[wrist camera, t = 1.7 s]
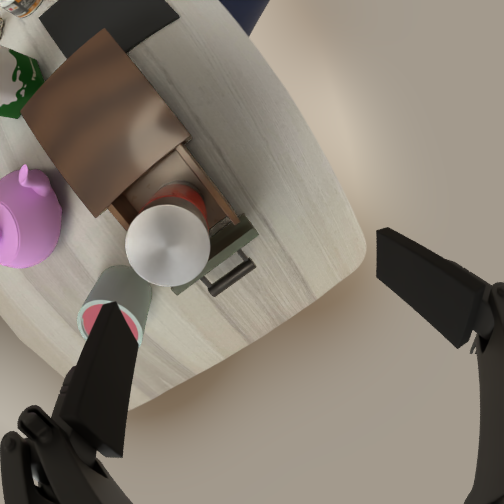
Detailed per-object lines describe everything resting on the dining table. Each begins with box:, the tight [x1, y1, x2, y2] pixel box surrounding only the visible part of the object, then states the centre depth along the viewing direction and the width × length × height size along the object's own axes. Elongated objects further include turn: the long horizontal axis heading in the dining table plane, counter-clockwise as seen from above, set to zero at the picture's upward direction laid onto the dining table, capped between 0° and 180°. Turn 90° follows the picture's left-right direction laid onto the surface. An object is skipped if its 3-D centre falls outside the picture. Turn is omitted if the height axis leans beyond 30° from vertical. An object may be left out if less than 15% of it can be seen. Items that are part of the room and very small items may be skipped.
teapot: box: [0, 164, 62, 268], centre depth 26 cm, size 20×14×12 cm
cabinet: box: [20, 28, 192, 218], centre depth 26 cm, size 18×14×9 cm
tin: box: [125, 181, 210, 287], centre depth 28 cm, size 7×7×15 cm
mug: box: [77, 266, 152, 348], centre depth 36 cm, size 14×9×10 cm
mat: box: [39, 0, 180, 59], centre depth 22 cm, size 16×20×1 cm
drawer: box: [107, 143, 259, 297], centre depth 33 cm, size 21×13×7 cm, turn 35°
